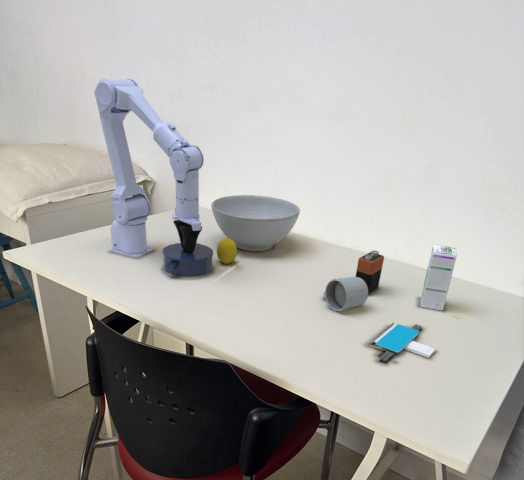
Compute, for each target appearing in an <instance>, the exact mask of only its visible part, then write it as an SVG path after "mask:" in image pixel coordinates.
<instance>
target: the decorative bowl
mask: <svg viewBox="0 0 524 480" xmlns="http://www.w3.org/2000/svg"><path fill="white" fill-rule="evenodd" d="M211 211H212V214H213V217H214V220H215V222H216V224H217V226H218V227H219V229H220V230H221V232H222V233H223V234H224V236H225V237H229V238H230V239H232V240H233V241H234V242H235V244H236V247H237V249H241V250H244V251H248V252H249V251H250V252H265V251H268V250H271V249H273V248H274V245H275V244H277V243H279V242H281V241H282V240H283V239H285V238H286V237H287V236H288V235H289V233H290V232H291V231H292V229H294V227H295V225H296V223H297V221H298V219H299V216H300V214H301V209H300V207H299V206H298V205H296V204H295V203H293V202H291V201H288V200H285V199H283V198H282V199H281V198H278V197H273V196H266V195H257V194H255V195H253V194H239V195H238V194H237V195H227V196H222V197H219V198H216V199H214V200H213V201H212V202H211Z"/></svg>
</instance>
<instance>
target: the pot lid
mask: <svg viewBox="0 0 524 480" xmlns="http://www.w3.org/2000/svg"><path fill="white" fill-rule="evenodd" d="M163 255H164V256H165V257H167V258H169V259H172V260H176V261H182V262H196V261H202V260H206V259H208V258H210V257H212V258H213V255H214V250H213V249H212V248H211V247H209V246H207V245H205V244H203V243H197V242H196V246H195V250H194V252H186V250H185V245H184V238H183V248H182V246H181V242H176V243H172V244H169V245H166V246H164V247H163V248H162V256H163Z"/></svg>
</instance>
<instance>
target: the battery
mask: <svg viewBox="0 0 524 480" xmlns="http://www.w3.org/2000/svg"><path fill="white" fill-rule="evenodd" d="M379 252H380V251H378V250H371V251H369V252H367V253H365V254H364V255H362V256H360V257H358V258H357V259H358V260H357V266H356V272H355V277H359V278H361V279H363V280H364V281H365V282H366V284H367V286H368V295H369V294H371V293H372V292H374V291H375V290H377V289H379V285H380V281H381V275H382V270H383V267H384V261H385V255H382V254H380V253H379Z"/></svg>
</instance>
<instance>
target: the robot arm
mask: <svg viewBox="0 0 524 480" xmlns="http://www.w3.org/2000/svg"><path fill="white" fill-rule="evenodd" d="M93 93H94V97H95V101H96V106H97V110H98V114H99V121H100V124H101V128H102V132H103V137H104V141H105V145H106V148H107V153H108V157H109V161H110V166H111V169H112V173H113V178H114V181H115V186H116V188H115V189H114V191H113V192H112V193H111V195H110V200H111V201H110V202H111V215H112V216H113V219H114V220H113V221H112V223H111V224H110V225H111V226H110V236H111V247H112V248H111V249H110V251H111V252H114V253H115V252H116V253H119V254H124V255H127V256H131V257H137V258H138V257H140V256H143V255H144V254H146V253H149V252H151V251H153V250H154V248H152V247H148V241H147V240H148V239H147V224H146V222H147V221H148V217H149V216H150V215H151V213H152V206H151V202H150V200H149V198H148V197H147V194H146V190H145V189H144V188H143V187H141V186H140V185H139V184H138V182H137V179H136V174H135V171H134V166H133V161H132V157H131V152H130V148H129V144H128V140H127V135H126V130H125V127H124V121H125V119H126V117H127V116H128V115H129V114H130V113H131V112H132V113H134V114H135V115H136V116H137V118H139V120H140V121H142V122H143V124H144V125H146V126H147V128H149V130H151V132H152V138H153V141H154V142H155V143H156V144H157V145H158V147H160V149H161V150H162V151H163V152H164V154H165V155H167V157H168V158H169V165H170V167H171V170H172V172H173V178H174V179H175V207H174V214H172V215H171V218H172V219H173V225H174V226H175V228H176V230H177V234H178V238H179V243H181V246H182V248H183V238H184V245H185V250H186V252H194V250H195V246H196V243H197V241H198V239H199V236H200V233H201V232H202V231H203V226H202V222H201V220H200V219H201V217H200V214H199V213H200V212H199V211H200V210H199V209H200V207H199V206H200V204H199V201H200V198H199V197H200V195H199V194H200V192H199V191H200V188H199V187H200V186H199V185H200V181H199V179H200V175H199V174H200V173H199V172H200V171H199V170H200V169H201V168H202V167H203V165H204V161H205V159H204V154H203V152H202V151H201V149H200V147H199V146H198V145H195V144H191V143H190V142H189V141H188V140H187V139H185V137H183V136H182V134H181V133H180V132H179V131H178V130H177V126H176V125H175V124H174V123H171V122H168V121H166V122H164V121H163V119H162V118H161V117H160V116H159V114H158V112H156V110H155V109H154V108H153V106H152V105H151V104H150V102H149V101H148V100H147V98H146V97H145V96H144V90H143V88H142V87H141V86H140V85H139V84H138V82H137V81H136V80H134V79H132V78H128V79H107V78H102V79H100V80H99V81H98V82H97V84H96V87H95V89H94V91H93Z"/></svg>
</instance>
